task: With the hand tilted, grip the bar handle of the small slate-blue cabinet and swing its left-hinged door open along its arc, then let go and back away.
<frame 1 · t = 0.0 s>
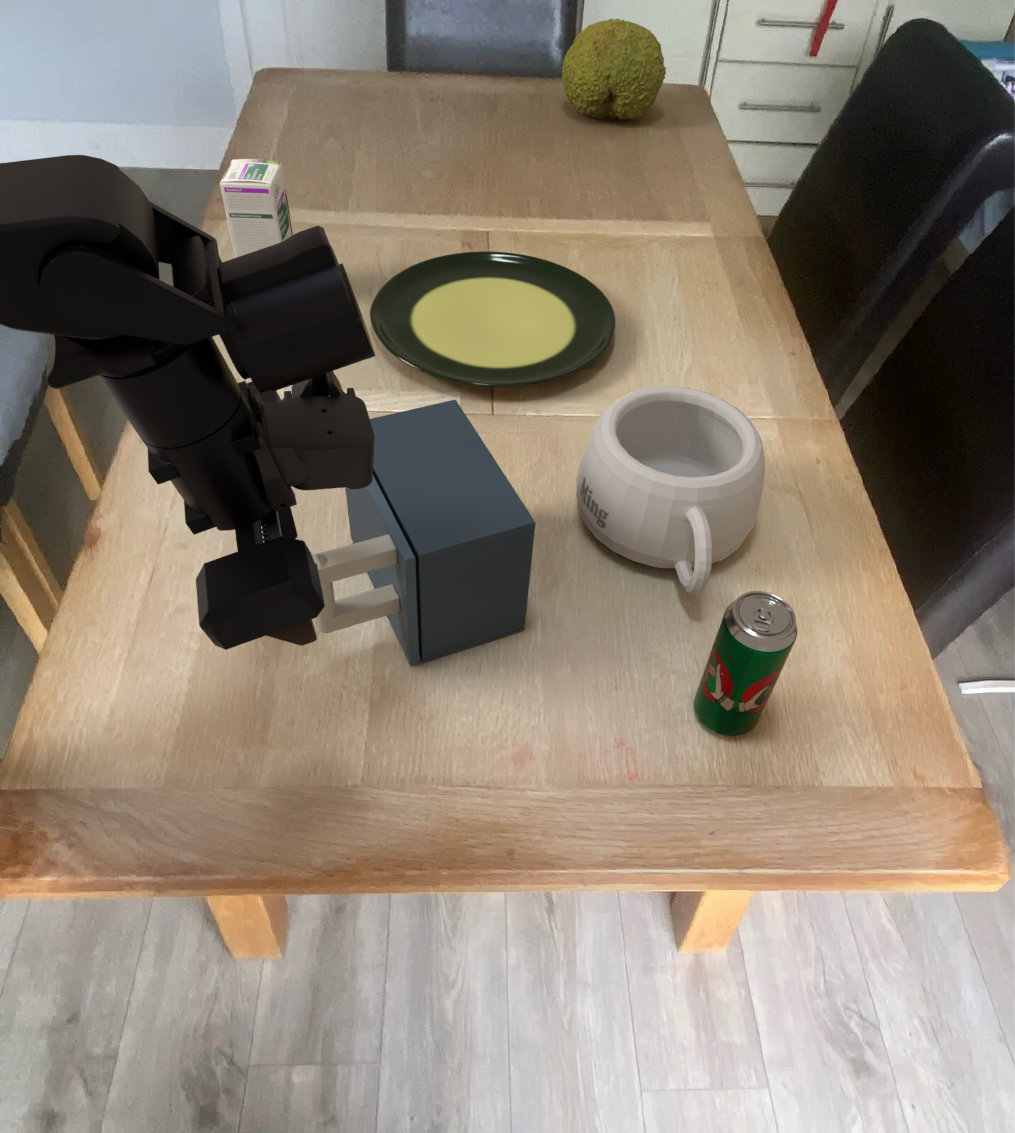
hand: (299, 587, 59), 13 cm above the table, tool pointing down, fingers open, 9 cm apart
fruit: (608, 115, 150), on the table
mug: (665, 534, 84), on the table
soda can: (724, 714, 70), on the table
cabinet door: (340, 555, 71), point 6 cm above the table, hinge at 0.0°
plate: (493, 331, 105), on the table
cabinet: (439, 580, 78), on the table
syrup box: (271, 292, 108), on the table
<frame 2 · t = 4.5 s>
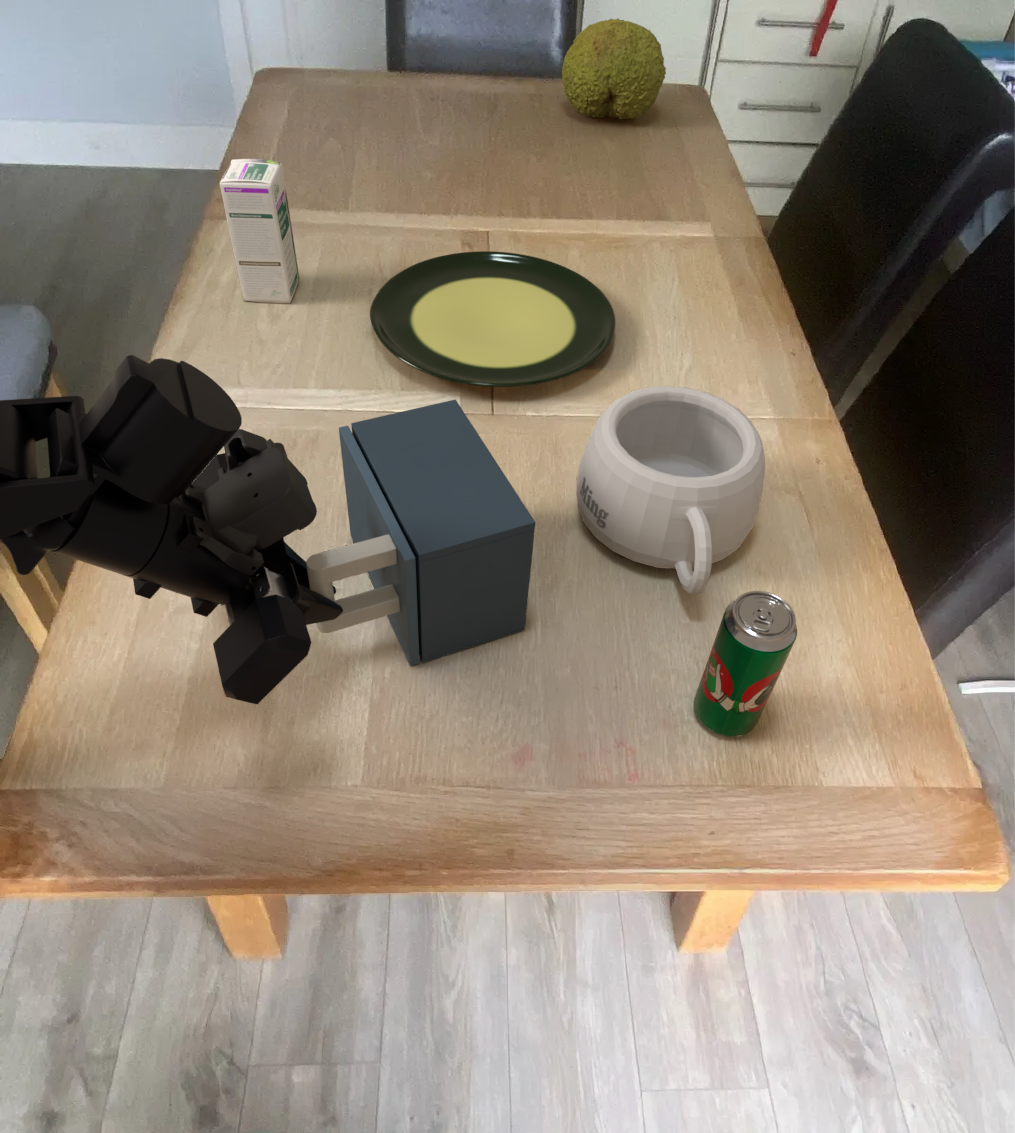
hand: (335, 603, 66), 7 cm above the table, tool tilted 45°, fingers closed on cabinet door, 2 cm apart
cabinet door: (340, 555, 71), point 6 cm above the table, hinge at 0.0°, touching gripper
everything else where it was.
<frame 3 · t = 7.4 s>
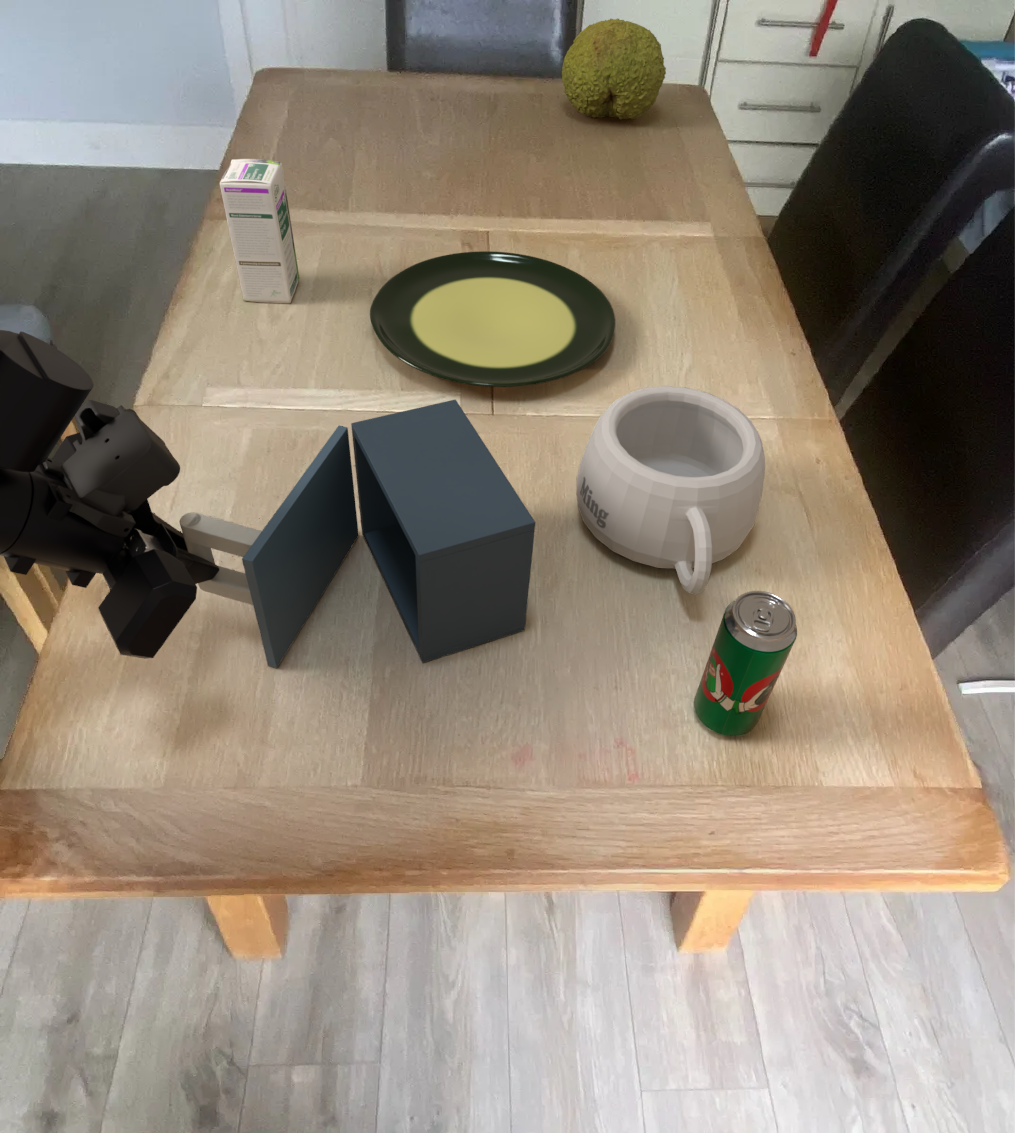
hand: (210, 564, 69), 7 cm above the table, tool tilted 45°, fingers closed on cabinet door, 2 cm apart
cabinet door: (272, 535, 72), point 6 cm above the table, hinge at 41.8°, touching gripper
everything else where it was.
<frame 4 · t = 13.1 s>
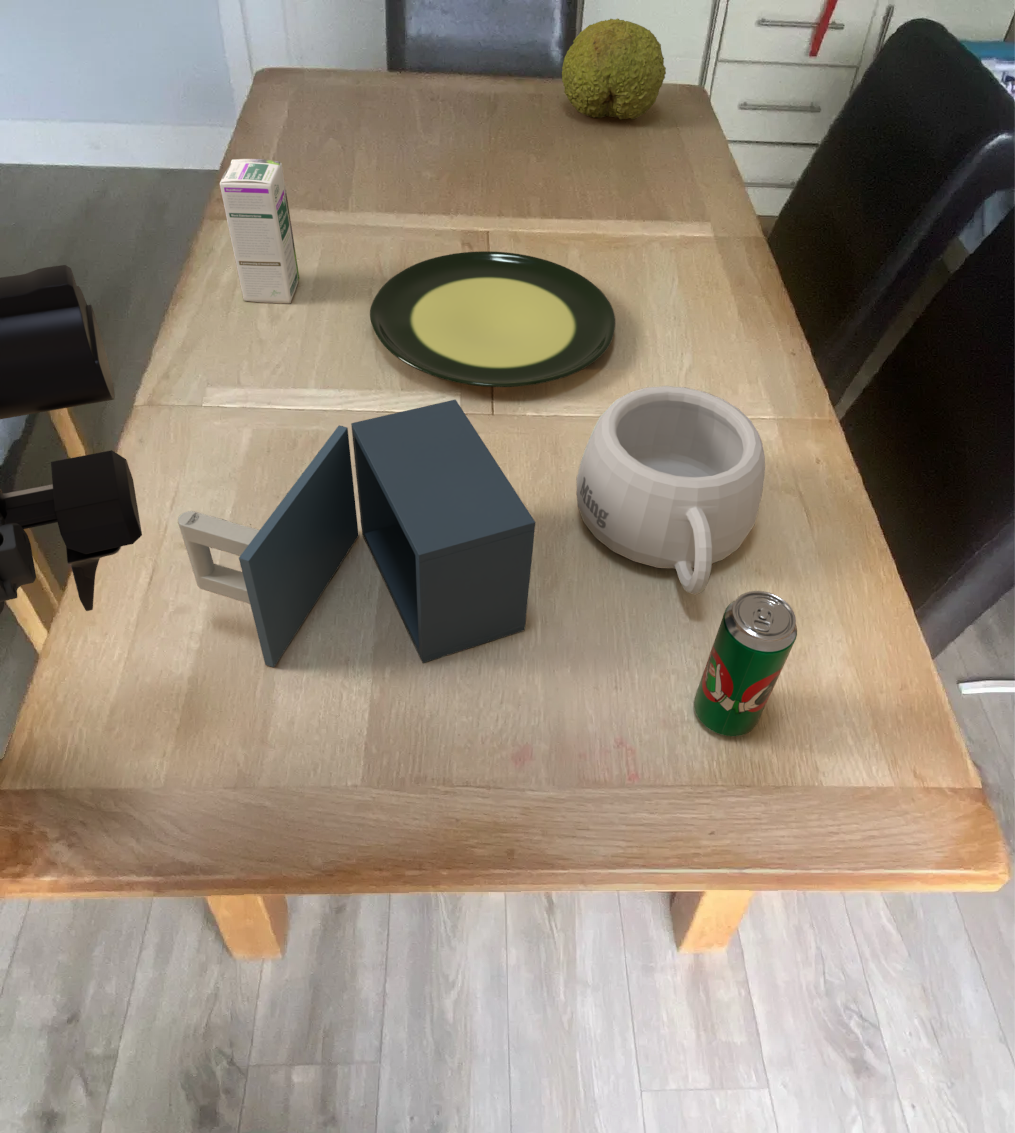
hand: (11, 624, 56), 13 cm above the table, tool pointing down, fingers open, 9 cm apart
cabinet door: (270, 534, 72), point 6 cm above the table, hinge at 42.7°
everything else where it was.
at the end: cabinet door at +43° (first picture: +0°); the gripper is holding nothing; plate moved 0.2 cm from its start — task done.
